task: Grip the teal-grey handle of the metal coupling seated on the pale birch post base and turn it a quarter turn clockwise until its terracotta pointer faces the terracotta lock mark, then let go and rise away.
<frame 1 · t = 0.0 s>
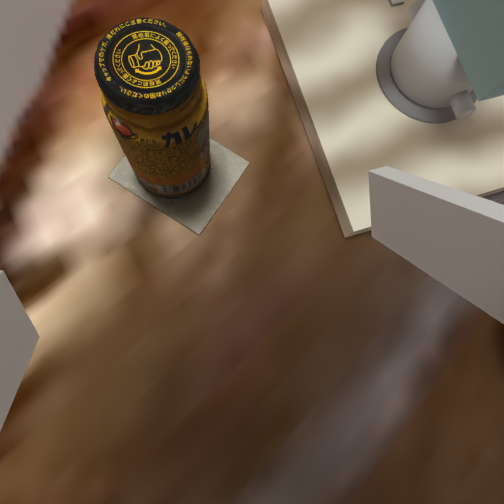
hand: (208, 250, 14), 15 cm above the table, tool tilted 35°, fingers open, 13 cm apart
condiment: (180, 171, 31), on the table
post base: (415, 89, 34), on the table
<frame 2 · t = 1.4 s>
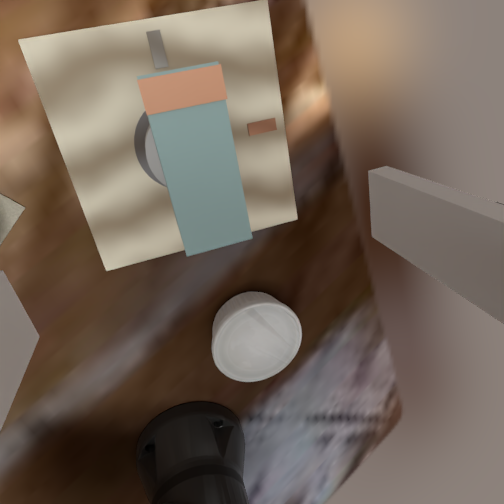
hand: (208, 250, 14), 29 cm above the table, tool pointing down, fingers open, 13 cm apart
post base: (179, 142, 40), on the table
coupling: (189, 154, 31), point 10 cm above the table, hinge at 0.0°
ramekin: (247, 320, 50), on the table
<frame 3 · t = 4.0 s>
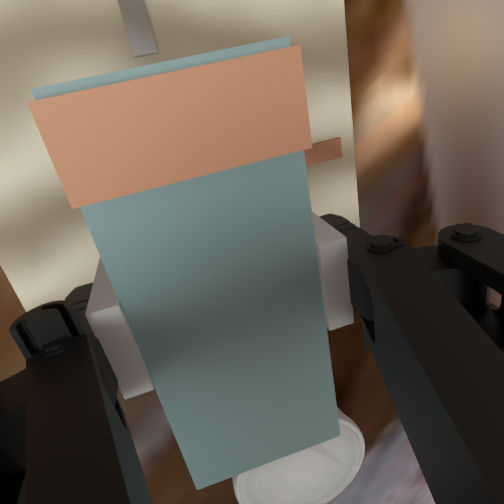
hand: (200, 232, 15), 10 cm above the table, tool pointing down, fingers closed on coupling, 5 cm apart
post base: (180, 179, 24), on the table
coupling: (199, 230, 16), point 9 cm above the table, hinge at 0.0°, touching gripper
ramekin: (281, 419, 35), on the table
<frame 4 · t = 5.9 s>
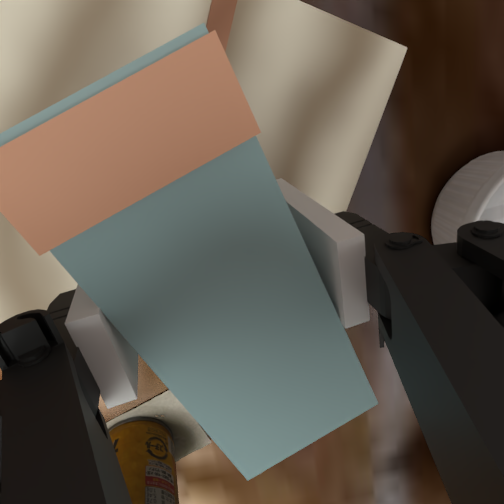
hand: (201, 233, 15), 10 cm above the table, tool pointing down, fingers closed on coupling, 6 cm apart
condiment: (146, 436, 32), on the table
post base: (179, 178, 24), on the table
coupling: (199, 229, 16), point 9 cm above the table, hinge at -47.5°, touching gripper
ramekin: (475, 208, 31), on the table
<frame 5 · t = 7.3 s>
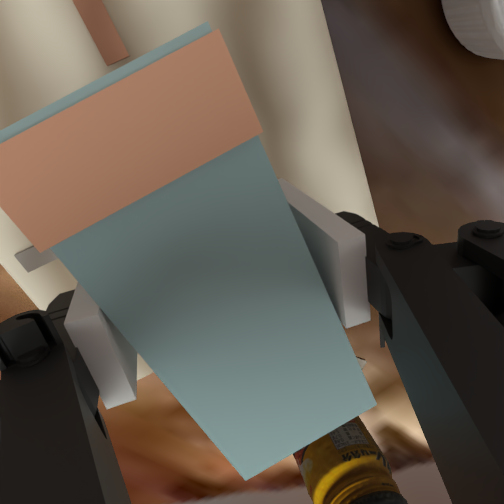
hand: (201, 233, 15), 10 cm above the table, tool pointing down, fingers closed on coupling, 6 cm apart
condiment: (310, 385, 34), on the table
post base: (179, 178, 24), on the table
coupling: (198, 229, 16), point 9 cm above the table, hinge at -87.0°, touching gripper
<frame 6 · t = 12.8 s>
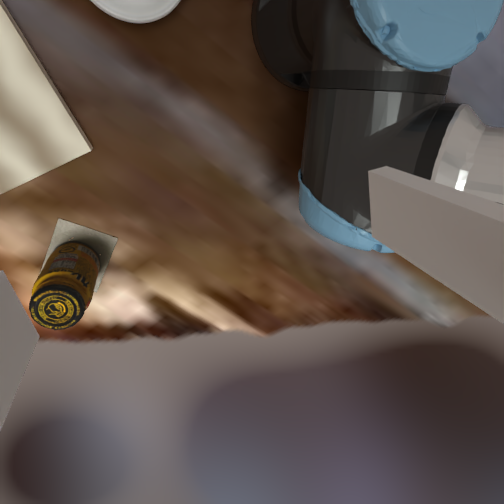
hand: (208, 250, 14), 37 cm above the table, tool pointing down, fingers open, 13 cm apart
condiment: (79, 256, 50), on the table
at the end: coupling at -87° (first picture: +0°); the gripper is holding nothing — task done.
